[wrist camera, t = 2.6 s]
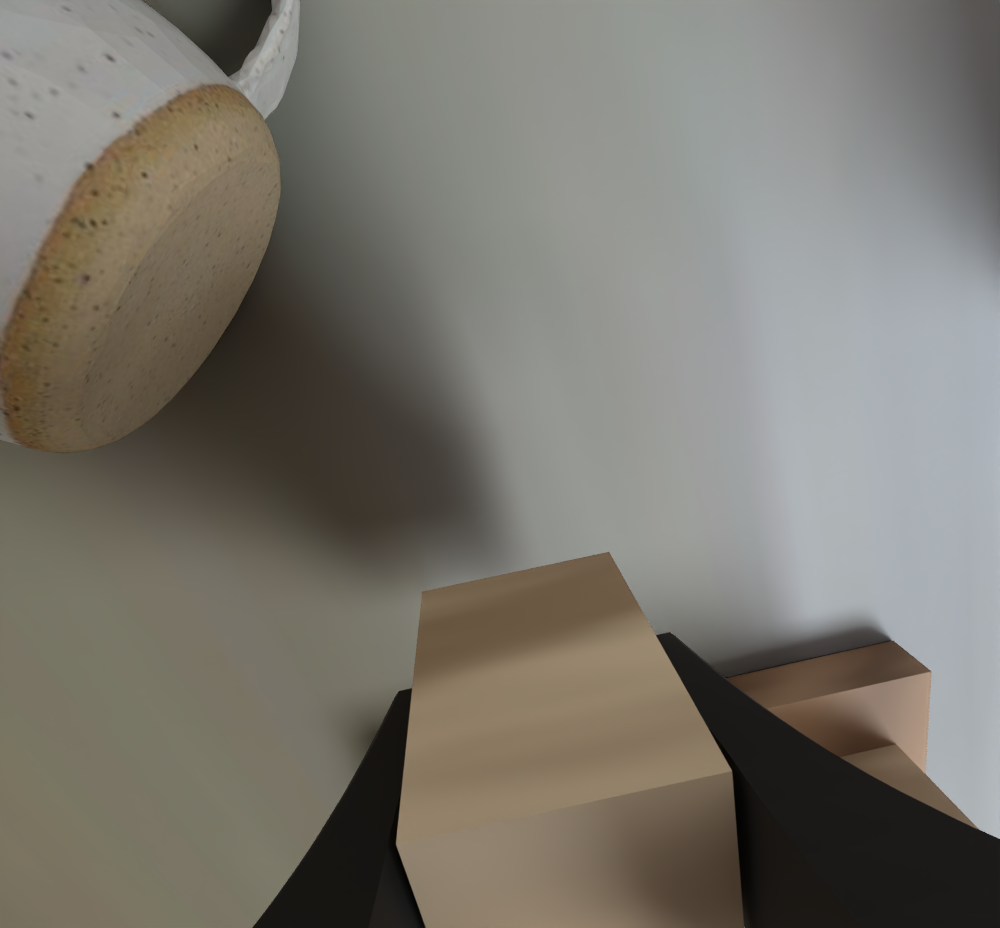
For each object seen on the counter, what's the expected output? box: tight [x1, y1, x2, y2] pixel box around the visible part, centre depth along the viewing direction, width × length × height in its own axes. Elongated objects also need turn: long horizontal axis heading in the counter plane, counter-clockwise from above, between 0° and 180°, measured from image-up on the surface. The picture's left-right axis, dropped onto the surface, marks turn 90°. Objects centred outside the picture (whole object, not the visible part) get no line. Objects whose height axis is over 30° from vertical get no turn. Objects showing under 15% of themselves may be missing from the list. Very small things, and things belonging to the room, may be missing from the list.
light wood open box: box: [726, 641, 978, 829], centre depth 16 cm, size 16×9×7 cm, turn 102°
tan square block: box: [396, 552, 744, 928], centre depth 10 cm, size 5×4×6 cm
